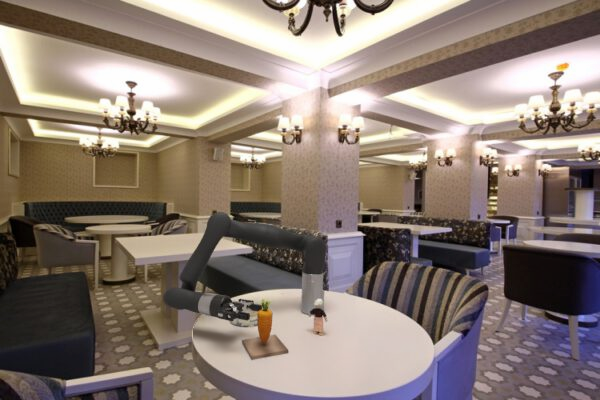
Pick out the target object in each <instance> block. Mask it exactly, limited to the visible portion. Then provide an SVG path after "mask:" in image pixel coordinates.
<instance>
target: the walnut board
mask: <svg viewBox="0 0 600 400" xmlns="http://www.w3.org/2000/svg"><path fill="white" fill-rule="evenodd" d="M241 344H242V346H243V347H244V350H245V351H246V352H247V354H248V356H249V358H250V360H252V361H253V360H259V359H263V358H268V357H273V356H279V355H283V354H289V349H288V348H287V346H286V345H285V343H283V341H281V340H280V338H279V337H278V335H276V334H270V336H269V338H268V340H267V342H266V344H265V345H264V344H263V343H262V341H261V339H260V336H258V337H252V338H245V339H244V338H243V339H241Z"/></svg>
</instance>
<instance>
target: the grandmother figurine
mask: <svg viewBox="0 0 600 400" xmlns="http://www.w3.org/2000/svg"><path fill="white" fill-rule="evenodd" d="M322 304H323V300H322V299H317V300H316V301H315V302H314V305H315V306H316V308H314V309H312V310H311V311H310V313H309V314H308V317H309V318H311V317H312V316H313V315H312V314H315V315H314V317H313V334H314V335H317V334H318V335H319V336H325V335H326V332H325V331H324V322H328V321H329V320H328V317H327V313H326V312H325V309H324V310H322V309H320V308H322Z"/></svg>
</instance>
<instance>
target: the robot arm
mask: <svg viewBox="0 0 600 400" xmlns="http://www.w3.org/2000/svg"><path fill="white" fill-rule="evenodd" d="M222 238H230V239H236V240H241V241H244V242H247V243H251V244H254V245H258V246H262V247H265V248H266V247H267V248H271V249H272V248H273V249H284V250H285V249H288V250H293V251H296V252H299V253H302V254H304V255H305V260H304V264H303V266H302V273H301V276H302V278H301V303H300V304H301V305H300V307H301V308H300V311H301V312H302V313H303V314H306V315H309V313H310V311H311V310H312V309H314V308H316V306H315V305H314V302H315V301H316V300H317V299H322V300H323V304H322V308H320V309H322V310H324V311H325V290H324V289H323V287H324V284H323V283H324V269H325V266H326V255H327V246H326V243H325V240H324V239H323V238H321V237H319V236H316V235H309V234H301V233H296V232H291V231H289V230H287V229H284V228H280V227H278V226H274V225H271V224H267V223H259V222H243V221H238V220H234V219H231V216H230V215H229V214H228V213H227V212H223V211H217V212H214V213H212V214H211V215H210V216H209V218H208V220H207V222H206V228H205V230H204V233H203V236H202V237H201V239H200V240H199V243H198V244H197V246H196V248H195V249H194V251H193V252H192V254H191V255H190V256H189V258H188V260H187V262H186V263H185V265H184V267H183V268H182V270H181V272H180V274H179V277H178V278H179V280H180V281H181V287H176V286H175V287H174V286H173V287H170V288H168V289H166V291H165V292H164V293H163V296H162V302H163V303H164V305H166V307H168V308H172V309H175V310H178V311H182V310H186V311H189V312H192V313H197V314H201V315H204V316H208V317H212V318H213V317H214V318H217V319H221V320H225V321H228V322H229V321H234V319H235V320H237V319H242V320H247V321H248V320H249V319H250V313H246V311H247V310H252V311H258V312H259V311H260V310H261V309H263V307H262V304H257V303H255V302H254V301H255V300H252V299H243V298H239V299H238V300H234V301H233V300H232V298H231V297H230V296H228V295H225V294H224V295H223V294H217V293H211V292H210V293H209V292H208V293H207V292H202V291H196V288H197V284H198V282H199V280H200V278H201V276H202V275H203V273H204V271H205V269H206V267H207V265H208V263H209V261H210V259H211V257H212V255H213V253H214V251H215V249H216V247H217V246H218V245H219V243H220V242H221V240H222ZM242 309H243V310H242ZM313 315H314V316H315V314H312V315H311V316H313Z"/></svg>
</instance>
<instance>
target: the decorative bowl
mask: <svg viewBox="0 0 600 400" xmlns="http://www.w3.org/2000/svg"><path fill="white" fill-rule="evenodd" d="M243 309H244V308H242V310H243ZM246 313H250V319H249V320H248V321H247V320H242V319H237V320H235V319H234V321H228V323H229V324H230V325H232V326H234V327H239V328H253V327H258V323H257V314H258V311H252V310H247V311H246Z"/></svg>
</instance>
